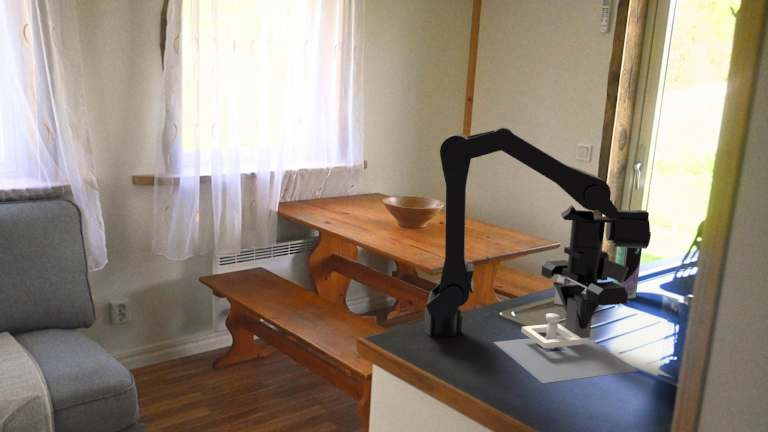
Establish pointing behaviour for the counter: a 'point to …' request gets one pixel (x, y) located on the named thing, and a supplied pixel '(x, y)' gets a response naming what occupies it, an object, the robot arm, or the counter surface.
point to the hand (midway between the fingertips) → (577, 325)
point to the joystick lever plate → (561, 330)
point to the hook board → (563, 357)
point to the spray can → (629, 268)
